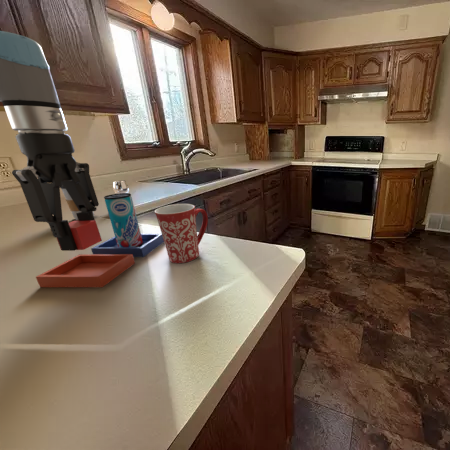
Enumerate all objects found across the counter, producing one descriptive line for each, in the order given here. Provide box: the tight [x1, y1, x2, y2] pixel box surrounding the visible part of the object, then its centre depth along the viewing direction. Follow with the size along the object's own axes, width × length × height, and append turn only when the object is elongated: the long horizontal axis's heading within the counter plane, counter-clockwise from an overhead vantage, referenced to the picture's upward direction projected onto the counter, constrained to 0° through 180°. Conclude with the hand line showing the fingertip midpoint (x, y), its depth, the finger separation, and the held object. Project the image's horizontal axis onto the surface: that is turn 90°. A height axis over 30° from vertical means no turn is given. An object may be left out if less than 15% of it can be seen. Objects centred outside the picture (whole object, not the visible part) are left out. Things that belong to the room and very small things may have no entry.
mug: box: [154, 203, 209, 264], centre depth 64 cm, size 13×9×14 cm
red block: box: [56, 219, 103, 251], centre depth 54 cm, size 5×5×5 cm
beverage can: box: [103, 192, 143, 247], centre depth 67 cm, size 6×6×15 cm
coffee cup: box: [60, 185, 95, 221], centre depth 97 cm, size 8×8×15 cm
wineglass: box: [112, 179, 130, 194], centre depth 113 cm, size 6×6×12 cm
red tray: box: [35, 253, 136, 288], centre depth 56 cm, size 14×11×3 cm
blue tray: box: [90, 233, 164, 258], centre depth 70 cm, size 14×11×3 cm
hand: (81, 244), depth 54 cm, fingers closed on red block, 5 cm apart
